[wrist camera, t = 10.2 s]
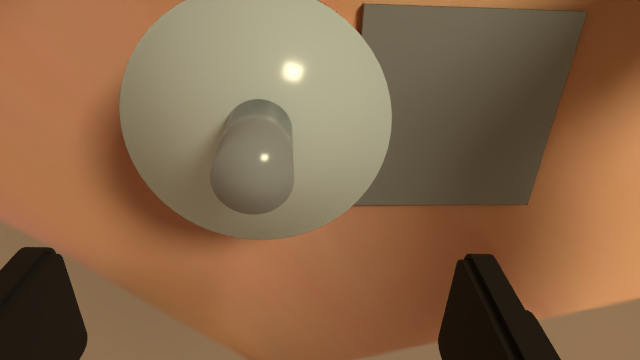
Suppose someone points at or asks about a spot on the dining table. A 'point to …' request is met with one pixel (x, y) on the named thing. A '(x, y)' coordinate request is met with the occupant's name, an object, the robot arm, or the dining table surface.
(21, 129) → the dining table surface
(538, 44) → the mat
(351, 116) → the lid
